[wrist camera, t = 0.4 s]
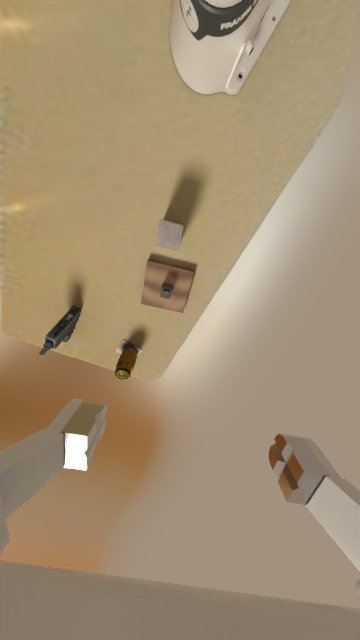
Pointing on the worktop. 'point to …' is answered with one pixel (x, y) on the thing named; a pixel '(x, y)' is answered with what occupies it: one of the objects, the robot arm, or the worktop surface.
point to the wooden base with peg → (166, 286)
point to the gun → (61, 330)
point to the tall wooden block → (169, 234)
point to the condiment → (126, 359)
